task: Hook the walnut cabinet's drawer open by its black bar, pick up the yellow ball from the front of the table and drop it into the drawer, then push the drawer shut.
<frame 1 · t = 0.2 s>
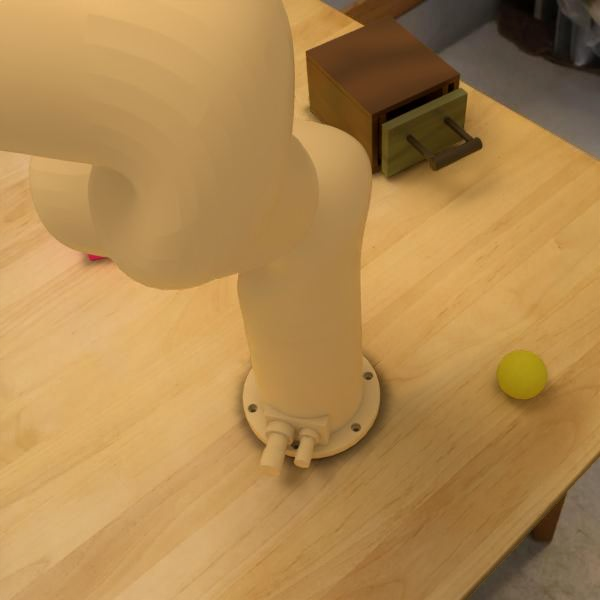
cabinet: (380, 122, 102), on the table
toy block: (156, 227, 94), on the table
drawer: (409, 119, 95), point 4 cm above the table, slide at 1.0 cm
yellow ball: (521, 374, 76), point 2 cm above the table
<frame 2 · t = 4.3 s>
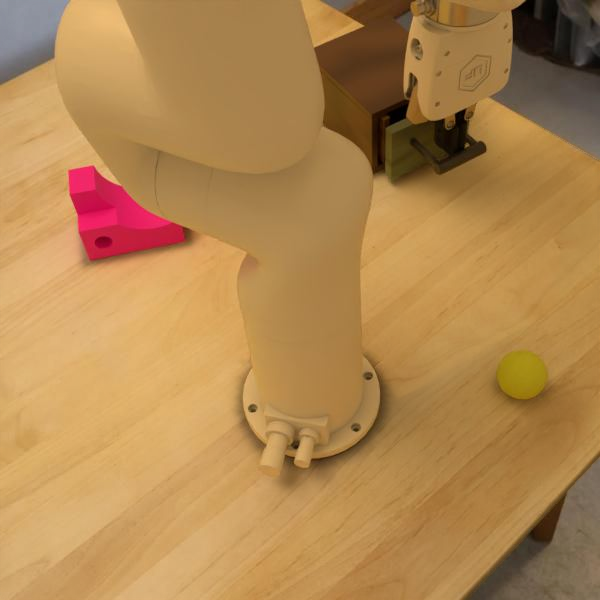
hand: (449, 146, 91), 5 cm above the table, tool pointing down, fingers closed
drawer: (412, 122, 95), point 4 cm above the table, slide at 1.7 cm, touching gripper
everything else where it was.
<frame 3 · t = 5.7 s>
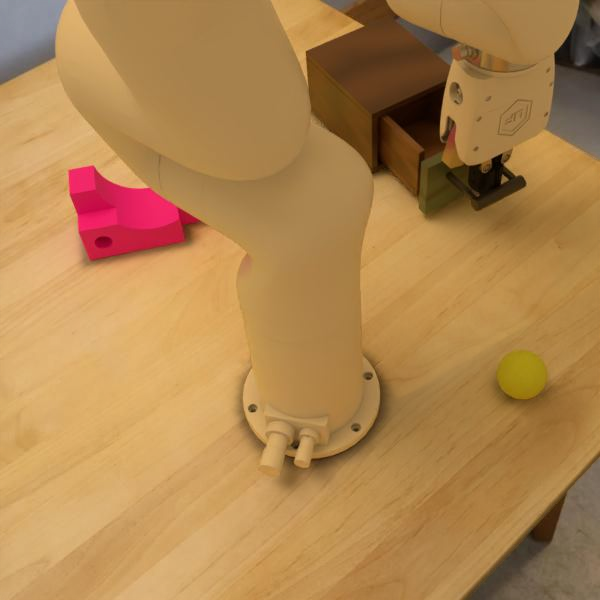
hand: (483, 188, 88), 4 cm above the table, tool pointing down, fingers closed
drawer: (447, 154, 91), point 4 cm above the table, slide at 8.0 cm, touching gripper
everything else where it was.
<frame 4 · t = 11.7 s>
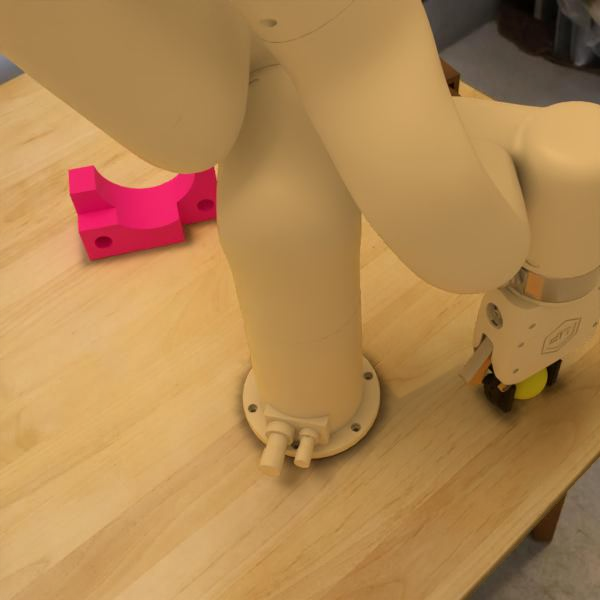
hand: (519, 385, 78), 0 cm above the table, tool pointing down, fingers closed on yellow ball, 4 cm apart
drawer: (448, 155, 91), point 4 cm above the table, slide at 8.3 cm
yellow ball: (521, 374, 76), point 2 cm above the table, touching gripper
everything else where it was.
when the fingers open (10 cm above the table, at t = 17.5 s): yellow ball drops 8 cm, resting on drawer.
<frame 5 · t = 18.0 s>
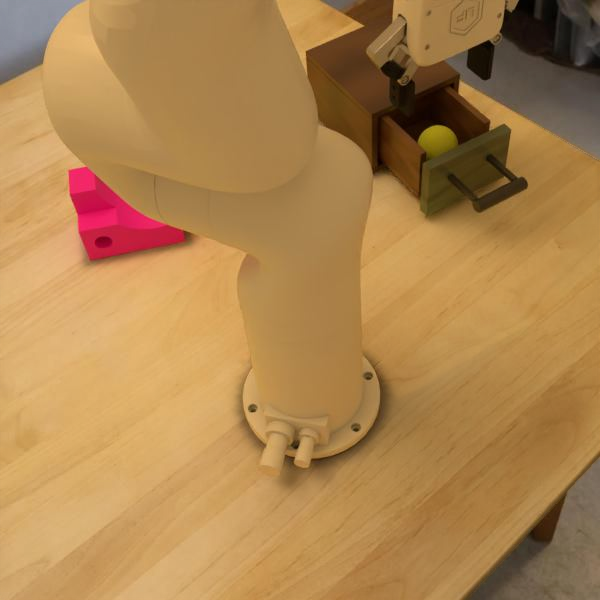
hand: (440, 90, 87), 12 cm above the table, tool pointing down, fingers open, 9 cm apart
drawer: (448, 155, 91), point 4 cm above the table, slide at 8.3 cm, touching yellow ball
yellow ball: (437, 146, 92), point 4 cm above the table, touching drawer
everything else where it was.
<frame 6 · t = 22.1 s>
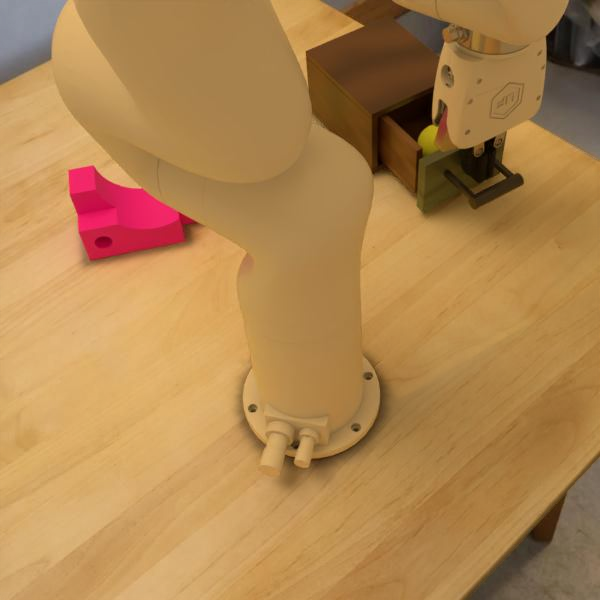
hand: (476, 172, 88), 5 cm above the table, tool pointing down, fingers closed
drawer: (445, 152, 92), point 4 cm above the table, slide at 7.6 cm, touching yellow ball
yellow ball: (437, 144, 93), point 4 cm above the table, tilted 13°, touching drawer
everything else where it was.
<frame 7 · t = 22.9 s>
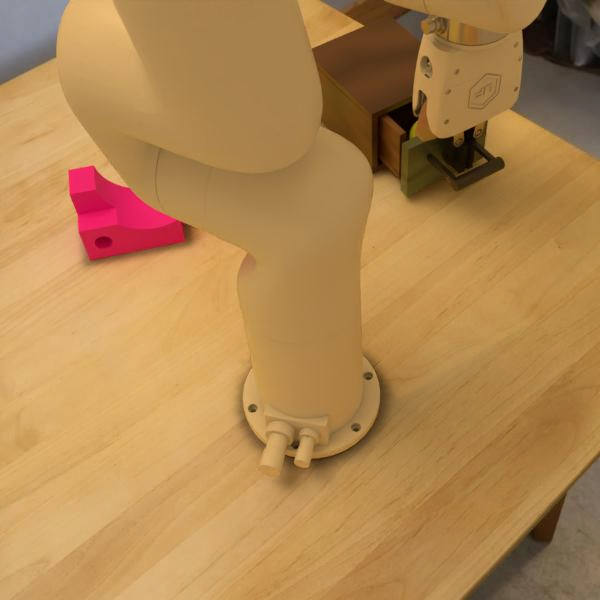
hand: (457, 163, 91), 4 cm above the table, tool pointing down, fingers closed
drawer: (428, 136, 93), point 4 cm above the table, slide at 4.6 cm, touching gripper, yellow ball
yellow ball: (429, 136, 93), point 4 cm above the table, tilted 50°, touching drawer
everything else where it was.
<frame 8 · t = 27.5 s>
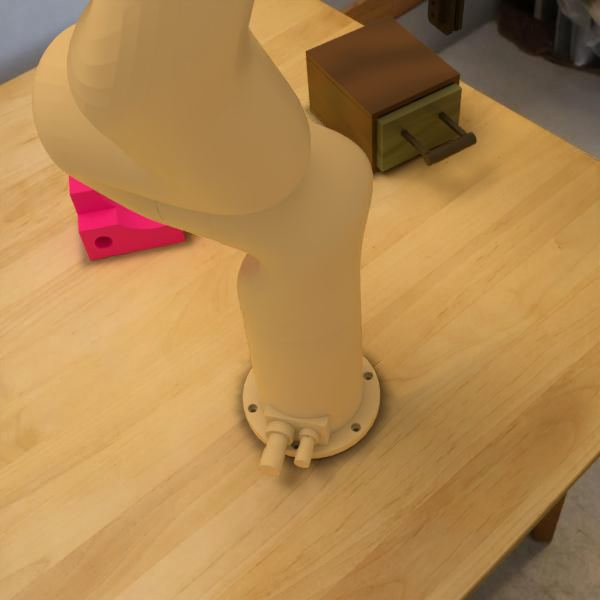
hand: (444, 25, 81), 19 cm above the table, tool pointing down, fingers closed
drawer: (404, 114, 96), point 4 cm above the table, slide at 0.0 cm, touching cabinet, yellow ball
yellow ball: (382, 93, 99), point 4 cm above the table, tilted 66°, touching drawer
everything else where it was.
at the end: drawer pulled out 8.3 cm at the most during the clip, back to where it started at the end; yellow ball inside the target area in the cabinet (0.2 cm from its centre), point 4.2 cm above the cabinet's base; drawer slide at 0.0 cm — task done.
